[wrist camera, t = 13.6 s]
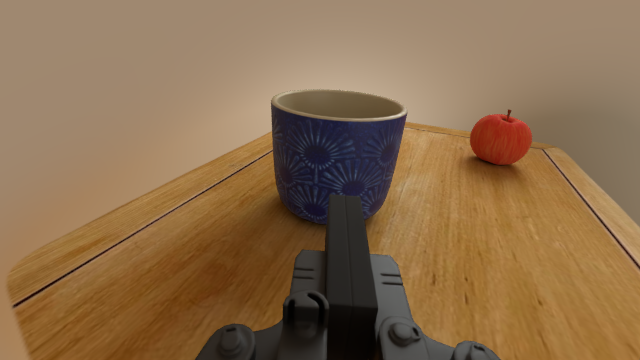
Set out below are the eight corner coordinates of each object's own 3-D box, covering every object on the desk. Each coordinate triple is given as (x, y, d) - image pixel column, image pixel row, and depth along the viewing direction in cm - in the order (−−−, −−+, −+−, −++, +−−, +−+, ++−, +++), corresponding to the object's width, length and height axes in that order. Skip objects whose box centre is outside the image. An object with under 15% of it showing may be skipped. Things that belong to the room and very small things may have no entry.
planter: (337, 171, 41) (345, 86, 36) (413, 214, 32) (436, 110, 27) (251, 193, 34) (247, 93, 29) (317, 256, 25) (327, 127, 20)
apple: (458, 149, 52) (471, 101, 48) (506, 153, 51) (523, 105, 48) (475, 168, 45) (492, 114, 41) (532, 173, 44) (554, 119, 41)
